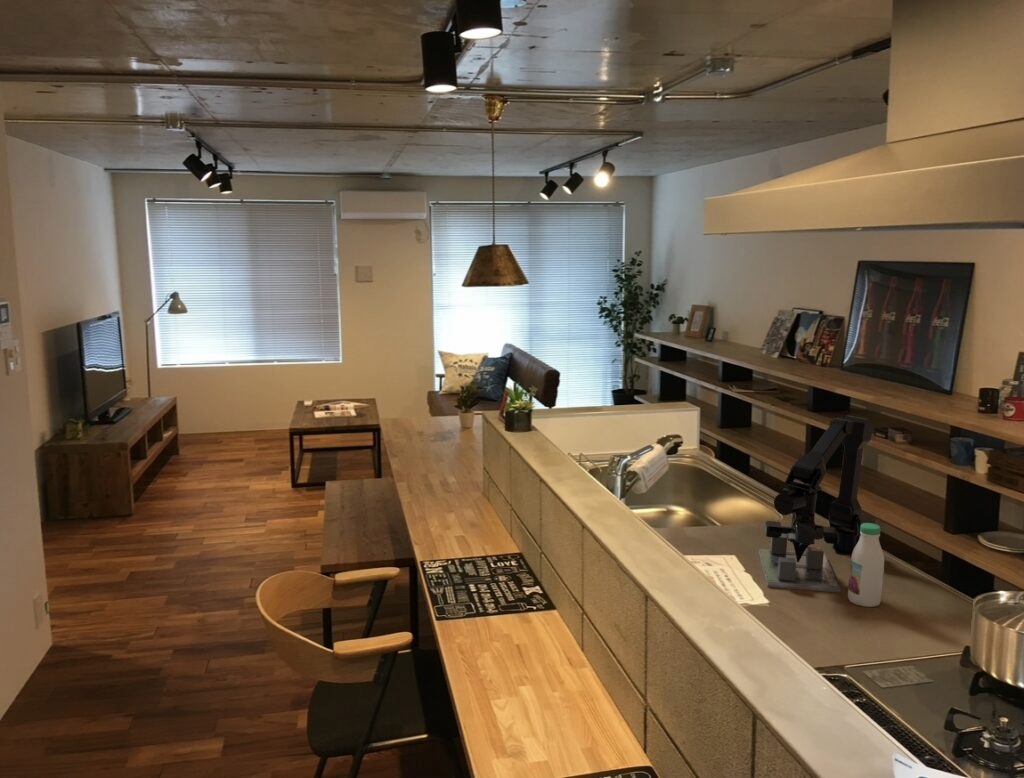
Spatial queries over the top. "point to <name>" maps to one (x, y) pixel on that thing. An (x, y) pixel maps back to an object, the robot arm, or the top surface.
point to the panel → (798, 573)
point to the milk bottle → (866, 568)
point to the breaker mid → (814, 558)
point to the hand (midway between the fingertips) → (797, 561)
